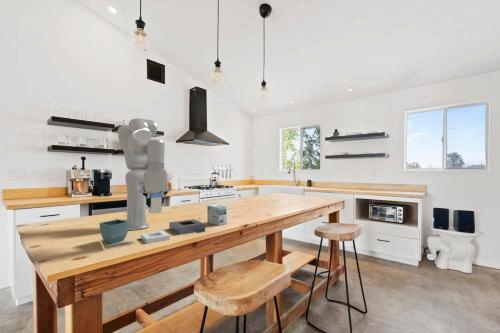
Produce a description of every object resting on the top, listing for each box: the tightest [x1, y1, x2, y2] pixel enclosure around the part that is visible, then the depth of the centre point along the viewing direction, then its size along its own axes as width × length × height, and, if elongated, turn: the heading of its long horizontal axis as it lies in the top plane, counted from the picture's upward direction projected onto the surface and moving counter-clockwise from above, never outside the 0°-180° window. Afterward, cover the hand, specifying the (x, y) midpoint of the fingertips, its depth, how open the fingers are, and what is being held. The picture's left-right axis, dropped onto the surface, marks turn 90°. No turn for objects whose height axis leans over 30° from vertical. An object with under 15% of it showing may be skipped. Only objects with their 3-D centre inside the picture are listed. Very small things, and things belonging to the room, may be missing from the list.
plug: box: [147, 191, 163, 215], centre depth 112 cm, size 5×5×9 cm
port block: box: [168, 218, 206, 236], centre depth 129 cm, size 14×14×4 cm
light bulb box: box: [206, 203, 228, 226], centre depth 146 cm, size 11×7×11 cm, turn 49°
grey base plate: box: [140, 230, 171, 245], centre depth 112 cm, size 10×10×2 cm
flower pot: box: [98, 219, 129, 245], centre depth 108 cm, size 9×9×9 cm
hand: (154, 205), depth 112 cm, fingers closed on plug, 4 cm apart
